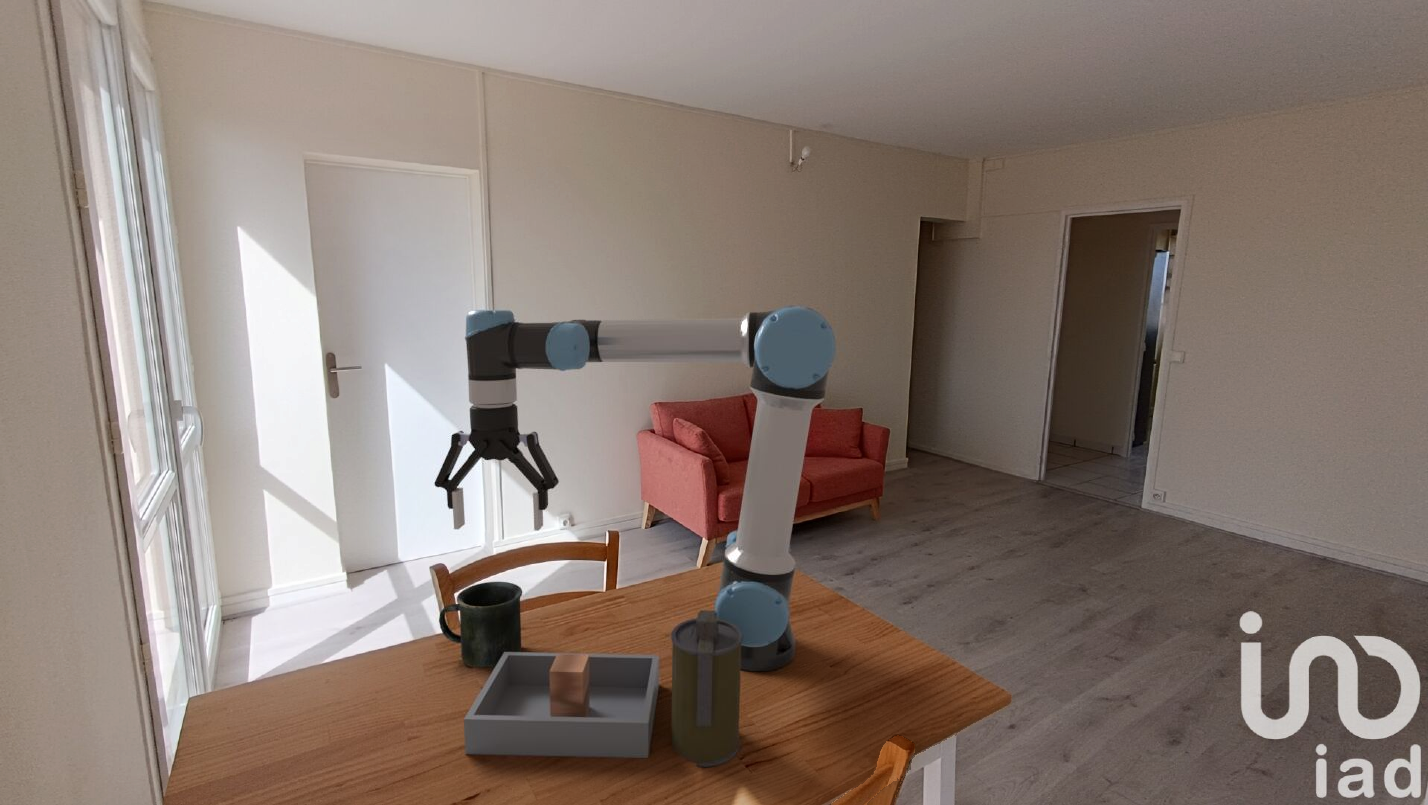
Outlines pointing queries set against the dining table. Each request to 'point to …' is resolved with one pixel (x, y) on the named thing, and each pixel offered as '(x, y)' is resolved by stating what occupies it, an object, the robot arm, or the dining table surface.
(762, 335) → the robot arm
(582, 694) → the block
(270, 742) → the dining table surface
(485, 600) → the mug
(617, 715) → the bin
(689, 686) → the canister
